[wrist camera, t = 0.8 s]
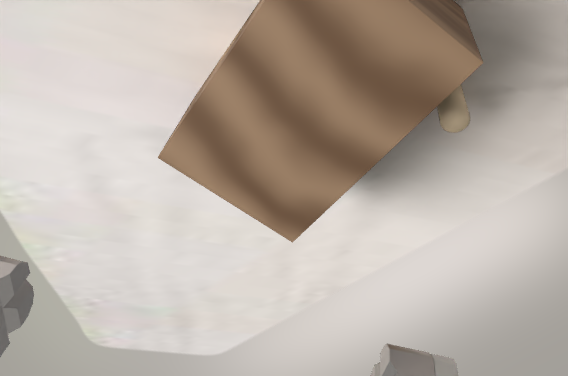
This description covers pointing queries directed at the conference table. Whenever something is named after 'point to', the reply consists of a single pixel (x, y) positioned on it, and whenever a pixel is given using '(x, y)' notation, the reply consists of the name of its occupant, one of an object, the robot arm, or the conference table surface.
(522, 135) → the conference table surface
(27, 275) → the robot arm
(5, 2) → the conference table surface
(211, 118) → the walnut shelf
